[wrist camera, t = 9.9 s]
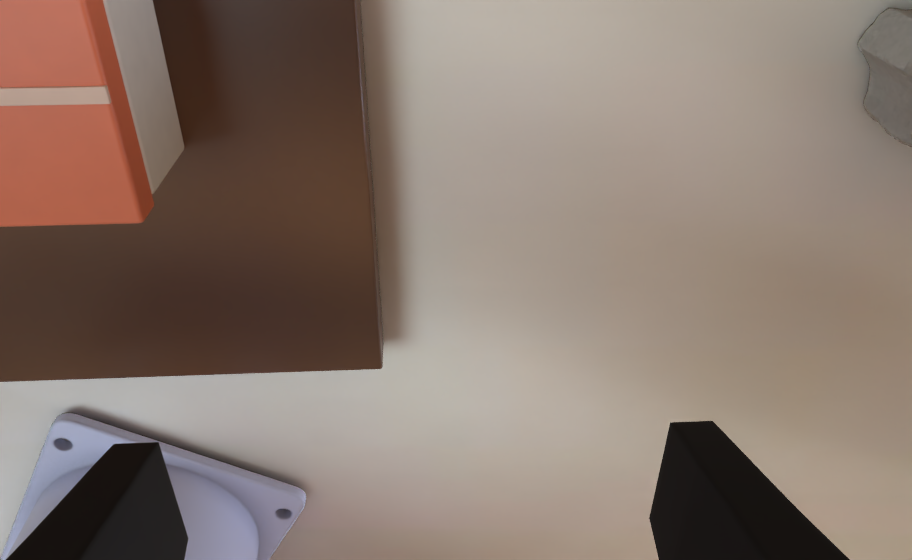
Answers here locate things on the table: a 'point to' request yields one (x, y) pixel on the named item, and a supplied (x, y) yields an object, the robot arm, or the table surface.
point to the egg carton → (890, 72)
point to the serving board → (222, 217)
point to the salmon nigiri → (83, 112)
